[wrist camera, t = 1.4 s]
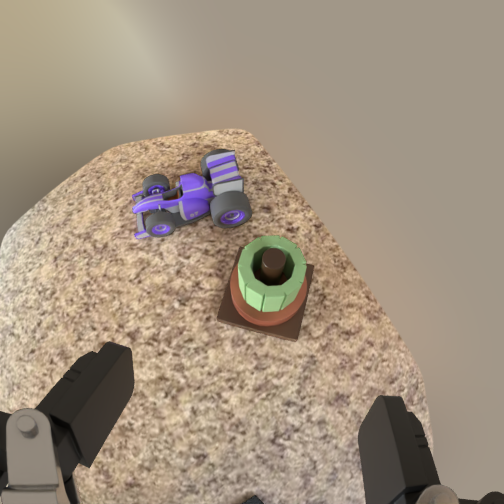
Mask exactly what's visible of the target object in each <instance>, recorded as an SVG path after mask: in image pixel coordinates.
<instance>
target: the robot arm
mask: <svg viewBox="0 0 504 504" xmlns="http://www.w3.org/2000/svg"><path fill="white" fill-rule="evenodd" d="M133 389H134V371H133V360H132V351H131V349H130V348H129V347H126V346H122V345H119V344H116V343H113V342H110V341H109V342H107V343H106V344H105V345H104V346H103V347H102V348H101V349H100V351H99V352H98V353H96V352H93V351H91V352H89V353H87V354H85V355H83V356H82V357H80V358H78V360H77V361H76V362H75V363H74V364H73V365H72V366H71V367H70V370H68V371H67V372H66V373H65V374H64V375H63V378H61V379H60V380H59V381H58V382H57V383H56V385H55V386H54V387H53V388H52V389H51V390H50V392H49V393H48V394H47V395H46V396H45V398H44V399H43V400H42V401H41V402H40V404H39V405H38V406H37V407H36V408H35V409H32V408H25V409H20V410H18V411H16V412H14V413H13V414H9V413H5V412H1V411H0V496H1V500H2V504H83V503H82V500H81V496H80V492H79V488H78V484H77V480H76V476H75V473H74V470H75V468H76V466H77V465H78V463H80V464H82V465H84V466H86V467H88V468H90V467H91V465H92V463H93V461H94V460H95V458H96V456H97V454H98V453H99V451H100V449H101V447H102V446H103V444H104V442H105V440H106V439H107V437H108V435H109V434H110V432H111V430H112V428H113V427H114V425H115V423H116V422H117V420H118V418H119V416H120V415H121V413H122V411H123V410H124V408H125V406H126V405H127V403H128V401H129V400H130V398H131V396H132V393H133ZM358 444H359V451H360V459H361V466H362V474H363V482H364V490H365V499H366V504H504V494H502V493H500V492H490V493H488V494H487V495H485V496H484V497H483V498H482V499H481V500H479V501H477V500H466V499H459V498H458V497H457V495H456V494H455V492H454V491H453V490H452V489H450V488H449V487H447V486H444V485H441V483H440V481H439V477H438V474H437V471H436V467H435V464H434V461H433V457H432V454H431V451H430V448H429V447H428V442H427V439H426V437H425V433H424V430H423V427H422V424H421V422H420V421H419V420H418V419H417V417H416V416H415V415H414V414H413V412H407V410H406V407H405V404H404V401H403V399H402V397H400V396H383V395H380V396H378V397H377V398H376V400H375V401H374V403H373V405H372V407H371V408H370V410H369V412H368V414H367V415H366V417H365V419H364V421H363V422H362V424H361V426H360V429H359V433H358ZM8 482H9V484H8ZM7 484H8V487H6V486H7Z"/></svg>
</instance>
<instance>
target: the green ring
mask: <svg viewBox="0 0 504 504" xmlns="http://www.w3.org/2000/svg"><path fill="white" fill-rule="evenodd" d="M270 248H277V249H280V250H281V251H282V252H283V253H284V254H285V257H286V262H285V265H284V268H283V272H284V274H285V277H286V279H287V281H286V282H285V283H284V284H282V285H278V286H266V285H265V284H263V283H262V282H260V281H258V280H257V279H255V277H254V274H253V273H254V272H256V271H257V270H258V269H260V268H261V265H262V257H263V254H264V252H265V251H266V250H268V249H270ZM306 268H307V266H306V261H305V258H304V256H303V254H302V252H301V250H300V248H299V247H298V248H297V245H296V244H294V243H293V242H291V241H289V240H288V239H286V238H284V237H281V238H280V236H279V235H276V236H261V239H260V238H259V237H258V238H257V239H255V240H254V241H252V242H251V243H249V244H248V245H247V246H245V249H243V250H242V253H241V257H240V260H239V263H238V277H239V287H240V290H241V293H242V295H243V298H244V300H246V303H248V304H249V305H251V306H252V307H254V308H255V309H257V310H259V311H261V309H262V311H263V312H274V311H279V310H280V309H281V310H283V309H284V308H285V307H286V306H288V305H289V304H290V303H291V302H293V301H294V299H295V298H296V296H297V294H298V292H299V290H300V288H301V285H302V283H303V281H304V277H305V272H306Z"/></svg>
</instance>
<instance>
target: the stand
mask: <svg viewBox="0 0 504 504" xmlns="http://www.w3.org/2000/svg"><path fill="white" fill-rule="evenodd" d="M243 249H245V248H244V247H240V248H239V251H238V254H237V257H236V260H235V263H234V266H233V269H232V272H231V275H230V278H229V281H228V284H227V287H226V291H225V294H224V297H223V300H222V303H221V306H220V309H219V312H218V315H217V320H218V321H219V322H222V323H225V324H229V325H232V326H236V327H240V328H243V329H247V330H250V331H254V332H258V333H262V334H265V335H269V336H273V337H277V338H281V339H285V340H289V341H293V342H296V341H297V339H298V335H299V331H300V327H301V323H302V319H303V314H304V310H305V306H306V301H307V297H308V292H309V288H310V283H311V279H312V274H313V269H314V265H310V264H306V266H307V268H306V272H305V277H304V281H303V283H302V285H301V288H300V290H299V292H298V294H297V296H296V298H295V299H294V301H293V302H291V303H290V304H289V305H288V306H286V307H285V308H284V309H283V310H281V309H280V310H279V311H274V312H263V311H262V309H261V311H259V310H257V309H255V308H254V307H252V306H251V305H249V304H248V303H246V300H244V298H243V295H242V293H241V290H240V287H239V277H238V263H239V260H240V257H241V253H242V250H243ZM285 262H286V257H285V254H284V253H283V252H282V251H281V250H280V249H277V248H270V249H268V250H266V251H265V252H264V254H263V257H262V265H261V268H260V269H258V270H257V271H256V272H254V273H253V274H254V277H255V279H257V280H258V281H260V282H262V283H263V284H265V285H266V286H278V285H282V284H284V283H285V282H286V281H287V279H286V277H285V274H284V272H283V268H284V265H285Z"/></svg>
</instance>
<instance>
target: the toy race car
mask: <svg viewBox="0 0 504 504" xmlns="http://www.w3.org/2000/svg"><path fill="white" fill-rule="evenodd" d="M201 169H202V174H203V176H199V175H197V174H195V173H190V174H185V175H181V176H180V181H178V182H175V183H176V188H174V189H172V190H170V186H169V180H168V178H167V177H166V176H164V175H161V174H154V175H150V176H148V177H146V178H145V179H144V181H143V184H142V185H143V191H140V192H138V193H136V194H134V195H132V198H133V199H134V201H135V200H136V205H135V206H134V207H133V208H132V210H133V211H132V212H133V213H134V214H136V213H137V225H138V233H136V234H135V237H136V239H141V238H145V237H148V236H153V237H164V236H167V235H170V234H171V233H173V232H174V230H175V227H179V226H184V225H188V224H190V223H193V222H195V221H197V220H199V219H201V218H204V217H206V216H208V215H210V214H211V215H212V219H213V223H214V224H215V225H216V226H218V227H221V228H232V227H236V226H239V225H242V224H243V223H245V222H247V221H248V220H249V219H250V218H251V216H252V210H251V207H250V203H249V200H248V197H247V195H246V194H244V179H243V178H241V176H239V173H238V171H239V168H238V164H237V161H236V158H235V150H231V151H229V150H226V149H217V150H213V151H211V152H209V153H207V154H206V155H205V156H204V157H203V158H202V160H201ZM148 210H149V212H150V213H154V214H151V215H150V216H148V217H147V219H146V222H145V223H146V229H145V227H144V222H143V212H145V211H148ZM166 210H167V211H169V212H170V213H171V214H170V213H167V212H166Z"/></svg>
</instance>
